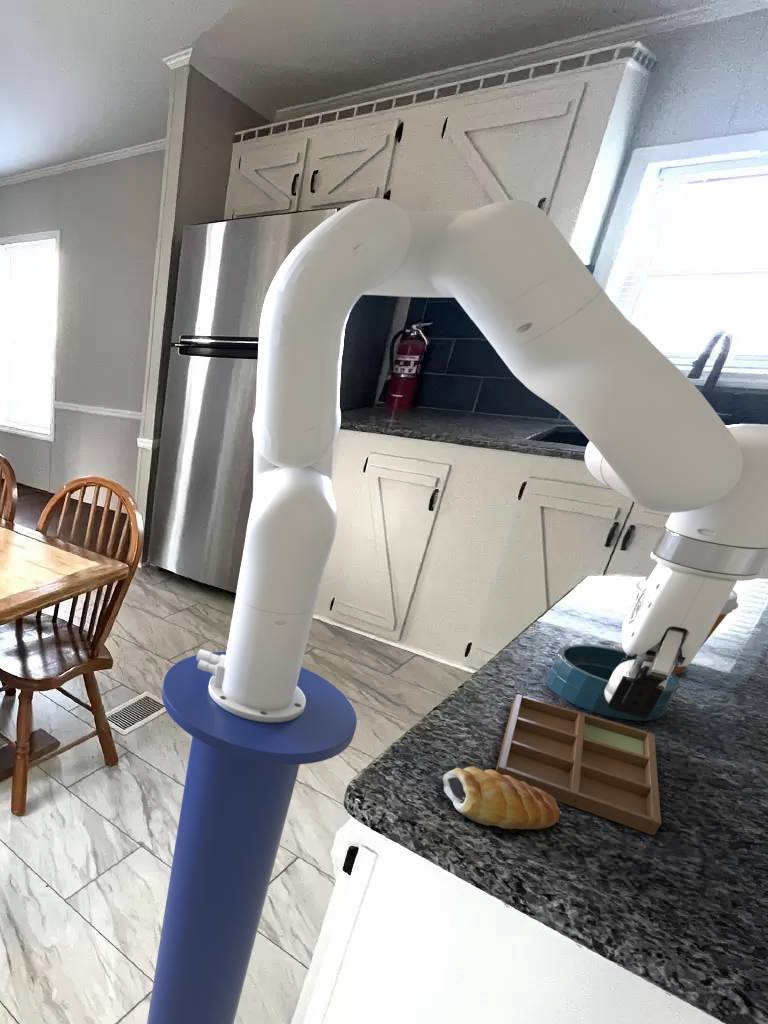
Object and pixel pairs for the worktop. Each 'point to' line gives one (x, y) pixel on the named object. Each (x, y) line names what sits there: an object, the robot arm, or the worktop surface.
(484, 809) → the pastry
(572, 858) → the worktop surface
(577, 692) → the bowl
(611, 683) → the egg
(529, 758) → the compartment tray
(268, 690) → the robot arm
